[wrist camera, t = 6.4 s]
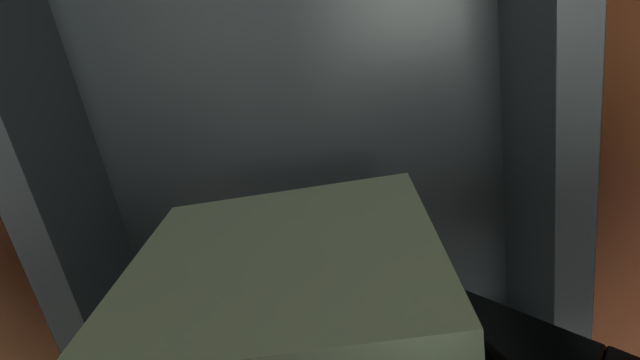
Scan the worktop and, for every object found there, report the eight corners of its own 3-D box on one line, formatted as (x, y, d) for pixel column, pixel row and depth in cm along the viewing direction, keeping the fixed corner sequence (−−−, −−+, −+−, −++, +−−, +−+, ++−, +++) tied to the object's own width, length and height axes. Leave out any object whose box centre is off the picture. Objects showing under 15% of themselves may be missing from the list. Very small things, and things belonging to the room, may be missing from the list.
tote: (528, 314, 14) (589, 407, 11) (155, 361, 15) (107, 461, 12) (517, -451, 8) (637, -737, 5) (-82, -310, 9) (-305, -482, 6)
